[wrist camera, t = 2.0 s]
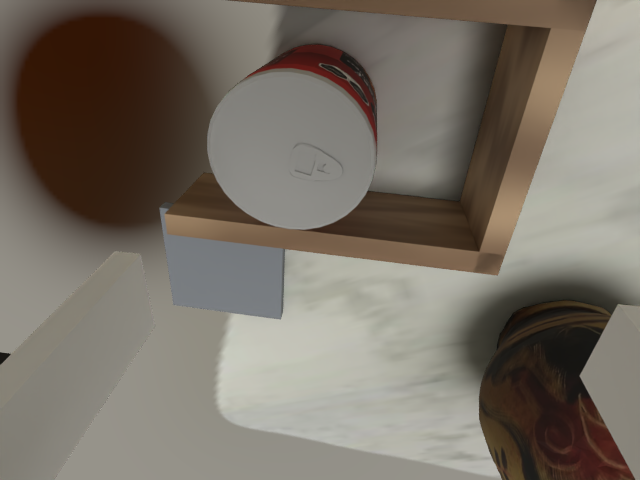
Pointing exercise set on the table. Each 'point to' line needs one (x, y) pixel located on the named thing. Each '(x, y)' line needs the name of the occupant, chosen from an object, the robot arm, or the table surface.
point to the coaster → (224, 274)
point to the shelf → (485, 167)
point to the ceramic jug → (547, 398)
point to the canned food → (297, 138)
